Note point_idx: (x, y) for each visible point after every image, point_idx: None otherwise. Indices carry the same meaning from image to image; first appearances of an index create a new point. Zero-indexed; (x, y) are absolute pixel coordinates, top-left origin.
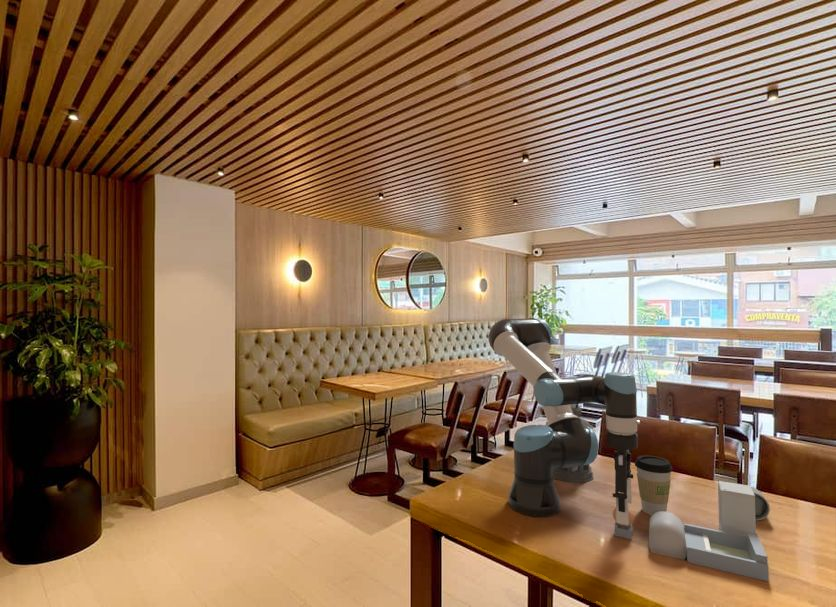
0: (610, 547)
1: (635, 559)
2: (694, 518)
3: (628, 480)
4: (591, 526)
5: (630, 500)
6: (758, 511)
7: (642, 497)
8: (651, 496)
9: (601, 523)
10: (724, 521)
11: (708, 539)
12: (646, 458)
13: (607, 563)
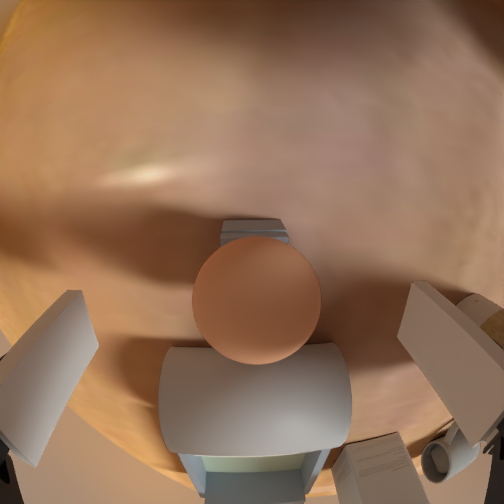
0: (108, 217)
1: (90, 302)
2: (430, 398)
3: (477, 433)
4: (259, 106)
5: (406, 345)
6: (433, 457)
7: (488, 327)
8: None
9: (318, 149)
10: (353, 478)
11: (290, 454)
12: None
13: (23, 225)
